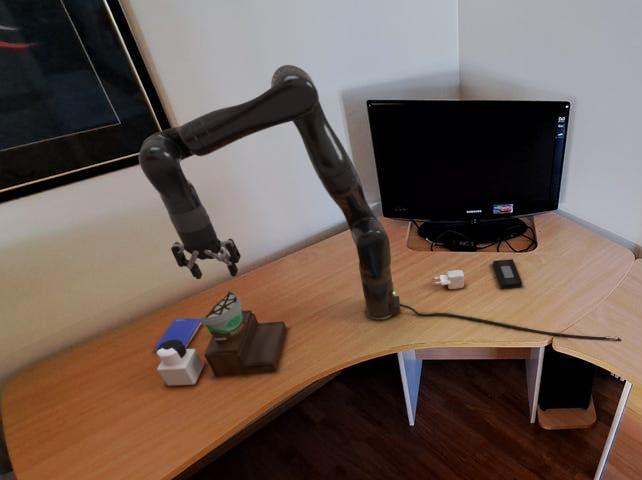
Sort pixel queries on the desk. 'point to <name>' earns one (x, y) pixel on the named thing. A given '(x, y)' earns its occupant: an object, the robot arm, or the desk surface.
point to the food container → (225, 319)
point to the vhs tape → (507, 274)
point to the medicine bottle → (178, 363)
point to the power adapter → (451, 279)
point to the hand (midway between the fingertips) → (217, 275)
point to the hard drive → (181, 331)
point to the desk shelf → (248, 349)
